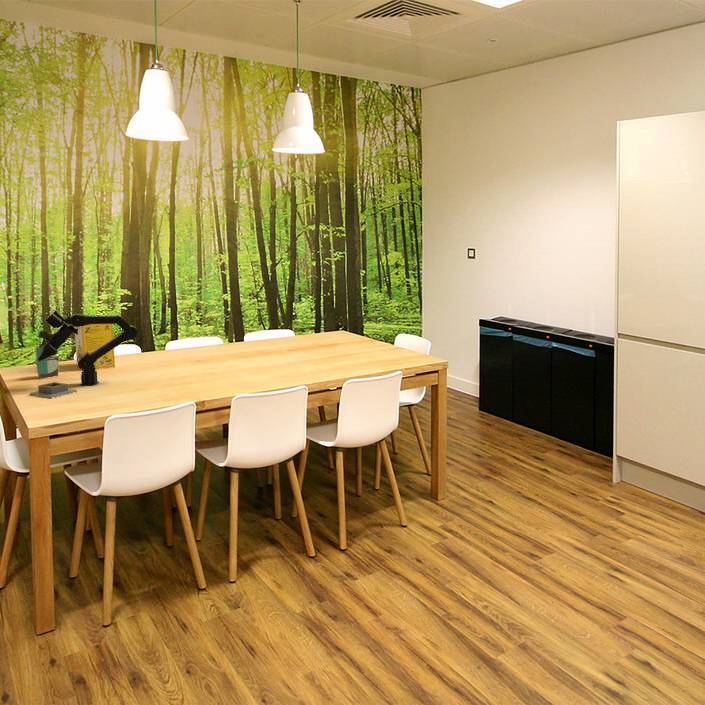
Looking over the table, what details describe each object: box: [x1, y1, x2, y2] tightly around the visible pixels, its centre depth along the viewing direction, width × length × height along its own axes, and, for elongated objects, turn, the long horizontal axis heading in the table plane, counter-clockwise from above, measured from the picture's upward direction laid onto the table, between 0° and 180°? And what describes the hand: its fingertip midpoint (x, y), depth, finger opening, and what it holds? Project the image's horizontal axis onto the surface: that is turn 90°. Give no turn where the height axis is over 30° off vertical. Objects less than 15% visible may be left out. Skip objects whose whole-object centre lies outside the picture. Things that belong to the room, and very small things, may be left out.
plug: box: [35, 343, 48, 375], centre depth 324 cm, size 4×4×14 cm
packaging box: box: [73, 324, 116, 370], centre depth 372 cm, size 16×16×25 cm
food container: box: [34, 355, 60, 380], centre depth 348 cm, size 12×6×10 cm, turn 141°
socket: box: [29, 381, 78, 399], centre depth 314 cm, size 14×14×4 cm
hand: (38, 359), depth 323 cm, fingers closed on plug, 4 cm apart
